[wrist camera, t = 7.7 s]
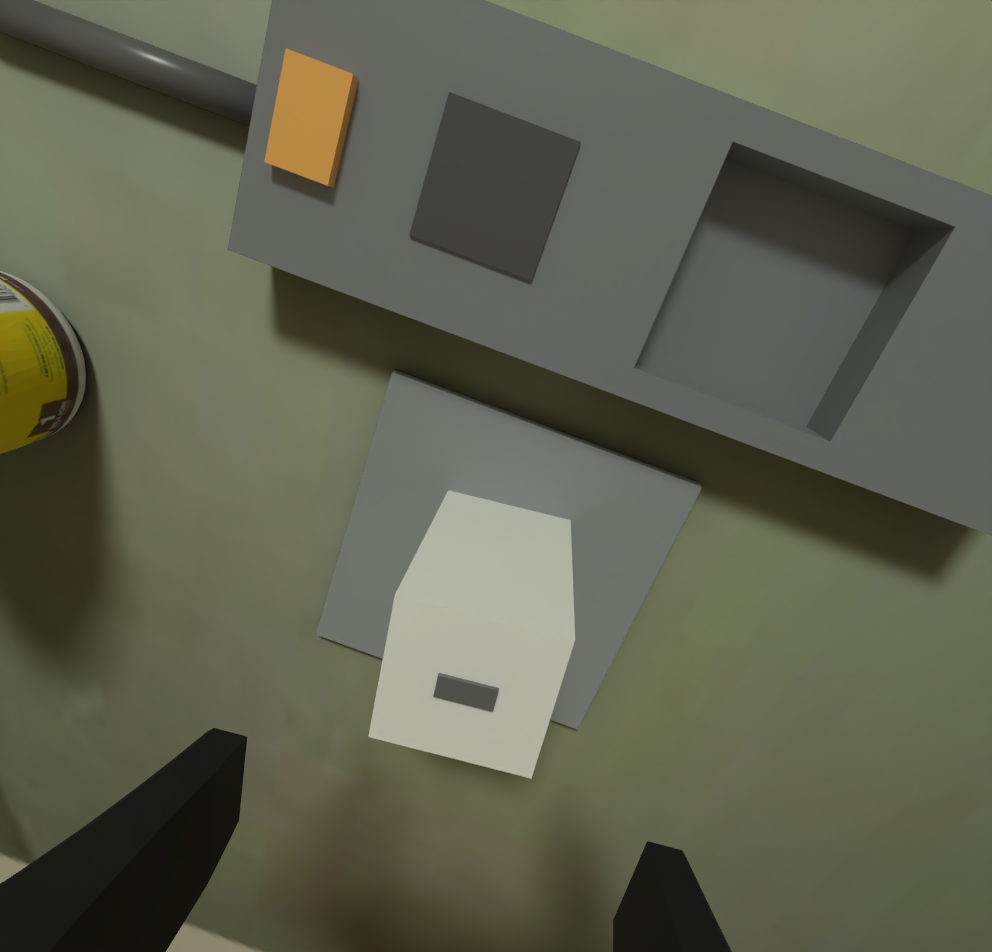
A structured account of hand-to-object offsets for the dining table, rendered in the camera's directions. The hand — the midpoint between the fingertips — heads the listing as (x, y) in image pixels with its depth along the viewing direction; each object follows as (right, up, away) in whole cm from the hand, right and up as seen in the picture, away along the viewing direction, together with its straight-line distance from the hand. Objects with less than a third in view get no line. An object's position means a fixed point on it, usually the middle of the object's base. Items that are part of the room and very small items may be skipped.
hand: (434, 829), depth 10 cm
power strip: (+2, +14, +6) cm, 15 cm away
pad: (+1, +3, +10) cm, 10 cm away
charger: (+1, +3, +9) cm, 10 cm away
